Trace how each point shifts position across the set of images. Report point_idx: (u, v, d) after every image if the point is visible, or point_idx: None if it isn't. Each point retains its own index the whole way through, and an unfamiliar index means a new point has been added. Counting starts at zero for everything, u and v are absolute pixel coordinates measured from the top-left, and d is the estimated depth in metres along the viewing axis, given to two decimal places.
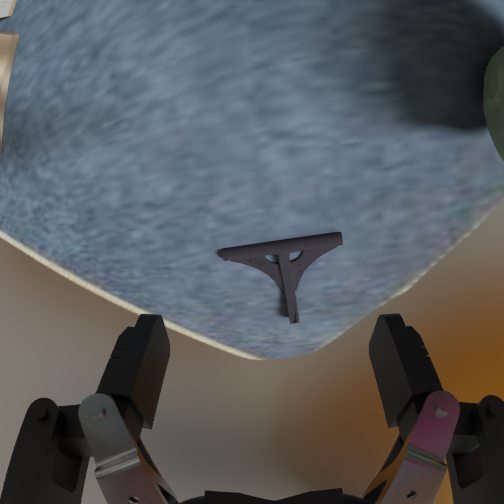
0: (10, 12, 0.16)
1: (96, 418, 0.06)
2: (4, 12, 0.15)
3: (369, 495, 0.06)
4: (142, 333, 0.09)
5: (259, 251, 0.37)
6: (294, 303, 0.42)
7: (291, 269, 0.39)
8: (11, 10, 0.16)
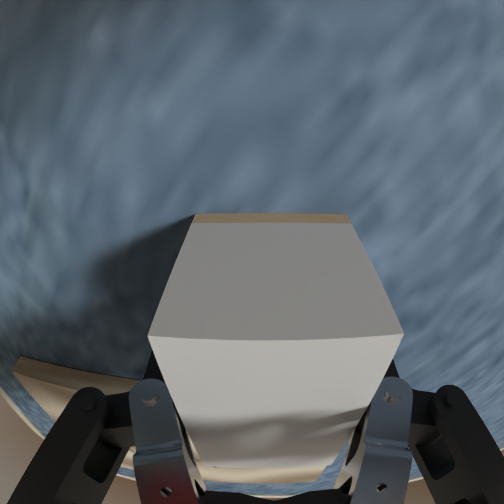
0: None
1: (150, 403, 0.07)
2: None
3: None
4: None
5: None
6: None
7: None
8: None
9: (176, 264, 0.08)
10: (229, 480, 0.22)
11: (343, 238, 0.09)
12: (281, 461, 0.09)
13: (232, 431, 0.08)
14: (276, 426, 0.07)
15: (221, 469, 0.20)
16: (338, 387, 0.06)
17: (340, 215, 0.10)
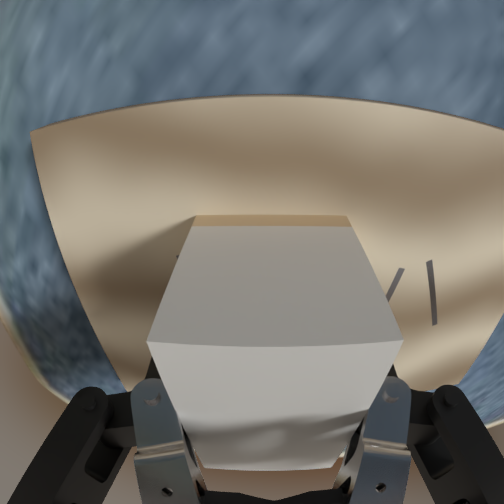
0: None
1: (152, 403, 0.07)
2: None
3: None
4: None
5: None
6: None
7: None
8: None
9: (176, 268, 0.08)
10: None
11: (344, 242, 0.09)
12: (281, 464, 0.09)
13: (232, 435, 0.08)
14: (276, 429, 0.07)
15: None
16: (338, 392, 0.06)
17: (341, 218, 0.10)
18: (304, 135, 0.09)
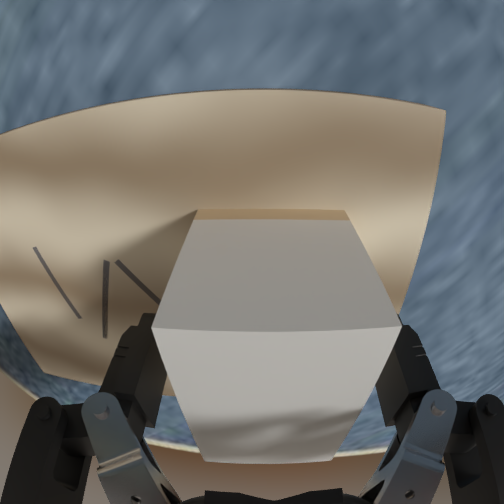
0: None
1: (99, 417, 0.06)
2: None
3: (367, 495, 0.06)
4: (145, 332, 0.09)
5: None
6: None
7: None
8: None
9: (179, 259, 0.08)
10: None
11: (342, 234, 0.09)
12: (281, 456, 0.09)
13: (233, 425, 0.08)
14: (276, 419, 0.08)
15: None
16: (338, 380, 0.07)
17: (339, 212, 0.10)
18: (87, 142, 0.09)
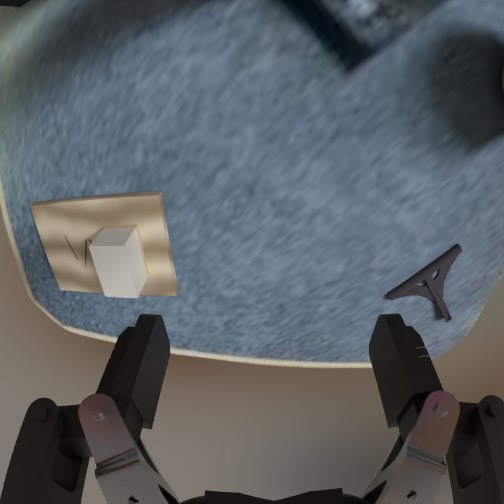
0: (147, 273, 0.42)
1: (96, 418, 0.06)
2: (144, 277, 0.41)
3: (369, 495, 0.06)
4: (142, 333, 0.09)
5: (413, 283, 0.44)
6: (445, 306, 0.46)
7: (436, 284, 0.44)
8: (147, 271, 0.42)
9: (97, 236, 0.36)
10: None
11: (130, 230, 0.37)
12: (122, 292, 0.38)
13: (106, 274, 0.36)
14: (113, 271, 0.36)
15: None
16: (118, 258, 0.35)
17: (136, 225, 0.39)
18: (79, 208, 0.37)
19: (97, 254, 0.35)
